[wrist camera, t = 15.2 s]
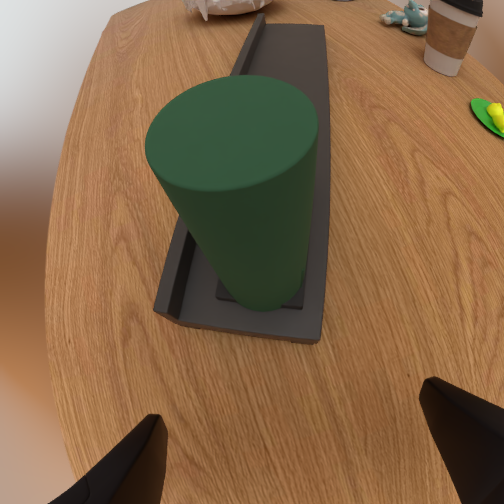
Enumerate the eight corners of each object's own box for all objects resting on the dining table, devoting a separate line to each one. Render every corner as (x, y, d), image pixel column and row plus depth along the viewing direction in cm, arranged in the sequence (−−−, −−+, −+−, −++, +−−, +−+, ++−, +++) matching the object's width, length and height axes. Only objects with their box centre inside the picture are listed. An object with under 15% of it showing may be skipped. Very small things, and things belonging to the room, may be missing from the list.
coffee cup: (472, 83, 30) (496, 8, 17) (434, 78, 31) (454, -8, 17) (445, 56, 34) (461, -14, 20) (406, 51, 34) (418, -27, 21)
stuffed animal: (366, -7, 36) (415, -9, 34) (370, 22, 43) (416, 18, 40) (396, 11, 32) (447, 10, 29) (397, 43, 38) (446, 40, 36)
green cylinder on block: (301, 316, 18) (321, 197, 7) (216, 306, 19) (115, 189, 7) (313, 175, 22) (319, 22, 11) (244, 171, 23) (211, 25, 12)
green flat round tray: (523, 146, 24) (532, 132, 22) (485, 137, 25) (494, 121, 23) (498, 107, 28) (505, 93, 25) (460, 97, 29) (466, 82, 26)
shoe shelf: (316, 345, 19) (324, 335, 15) (177, 325, 21) (152, 310, 17) (323, 38, 37) (324, 14, 33) (261, 36, 38) (258, 13, 34)
